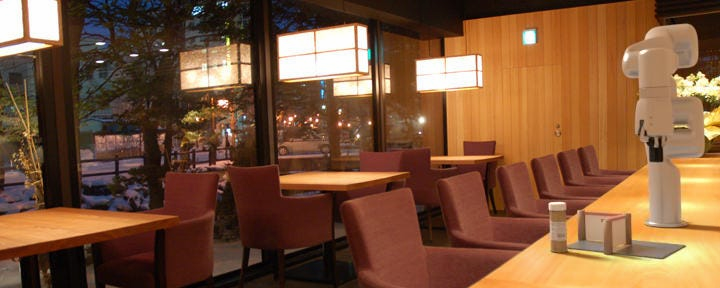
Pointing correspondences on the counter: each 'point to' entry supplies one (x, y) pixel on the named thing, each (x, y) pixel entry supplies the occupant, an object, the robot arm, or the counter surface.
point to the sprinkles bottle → (558, 227)
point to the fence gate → (617, 229)
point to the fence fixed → (601, 228)
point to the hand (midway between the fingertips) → (656, 161)
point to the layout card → (630, 248)
